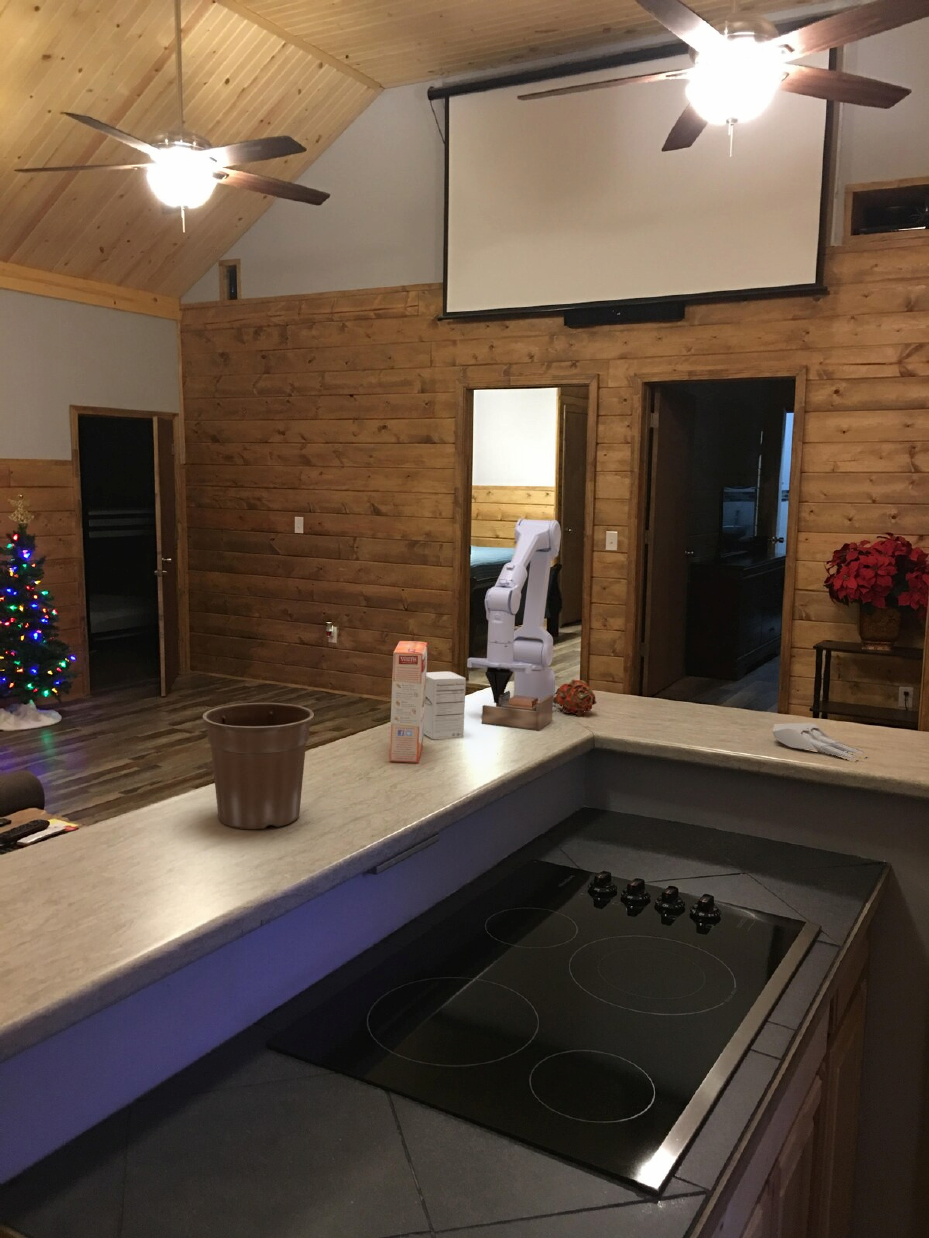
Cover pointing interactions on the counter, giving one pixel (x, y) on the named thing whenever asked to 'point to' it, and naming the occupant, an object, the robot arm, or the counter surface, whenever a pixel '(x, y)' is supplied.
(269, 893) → the counter surface
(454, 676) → the supplement box
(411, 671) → the cracker box
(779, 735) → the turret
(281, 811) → the plant pot
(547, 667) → the robot arm
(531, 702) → the wheeled platform dolly
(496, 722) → the brown wooden open box
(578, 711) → the dragon fruit
